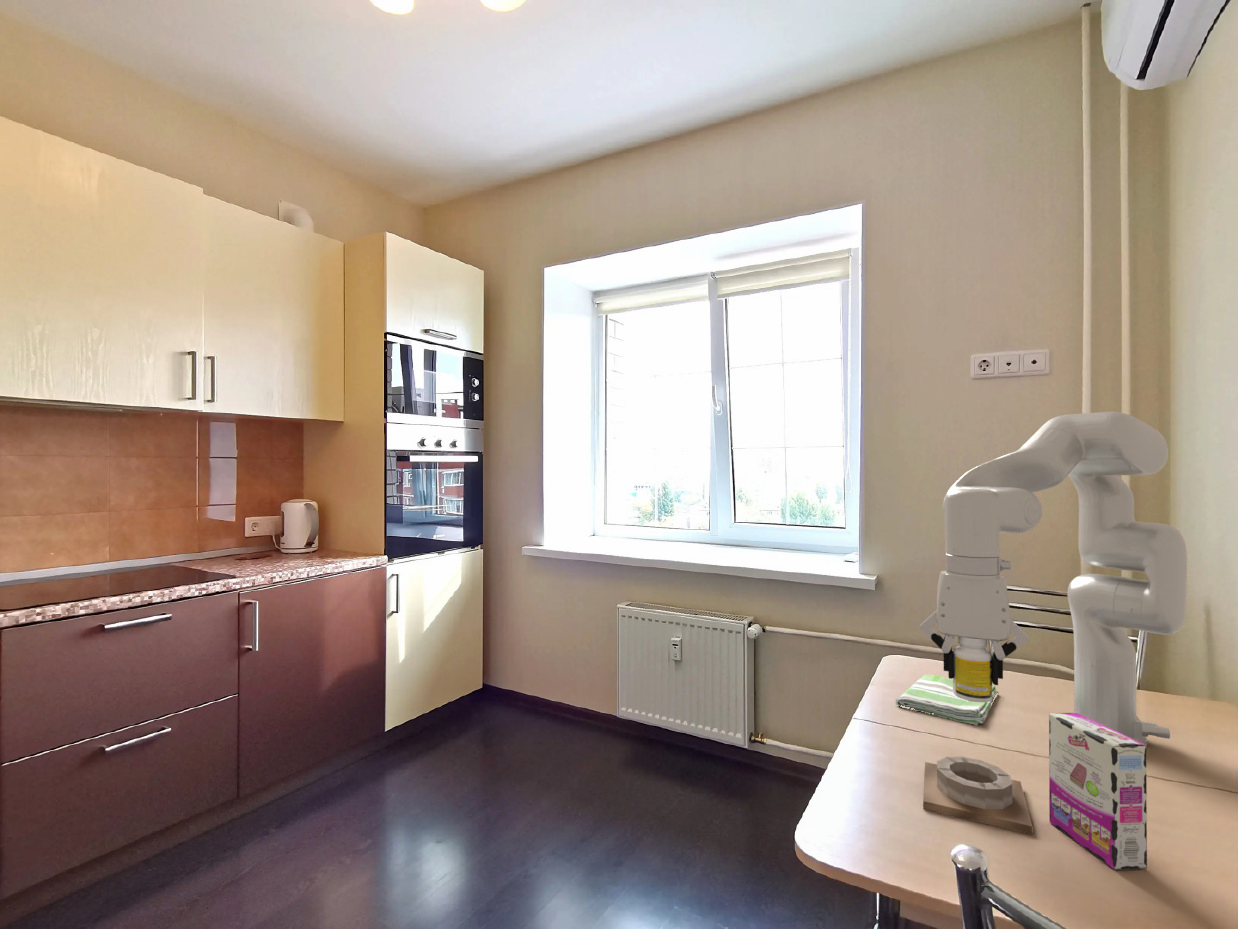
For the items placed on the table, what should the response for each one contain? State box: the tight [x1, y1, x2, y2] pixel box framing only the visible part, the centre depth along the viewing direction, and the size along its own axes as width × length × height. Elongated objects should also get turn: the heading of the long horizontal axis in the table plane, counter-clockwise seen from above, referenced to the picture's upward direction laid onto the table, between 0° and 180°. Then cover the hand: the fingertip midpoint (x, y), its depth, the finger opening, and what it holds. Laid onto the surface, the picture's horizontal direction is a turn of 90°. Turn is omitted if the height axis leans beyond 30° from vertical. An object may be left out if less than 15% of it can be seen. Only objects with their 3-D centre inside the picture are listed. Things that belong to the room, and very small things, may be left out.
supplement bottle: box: [952, 637, 993, 702], centre depth 96 cm, size 5×5×10 cm
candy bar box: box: [1048, 712, 1148, 871], centre depth 84 cm, size 11×5×16 cm, turn 5°
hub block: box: [922, 756, 1033, 835], centre depth 96 cm, size 14×14×4 cm
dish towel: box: [895, 674, 999, 727], centre depth 136 cm, size 17×23×4 cm
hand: (972, 678), depth 96 cm, fingers closed on supplement bottle, 5 cm apart
